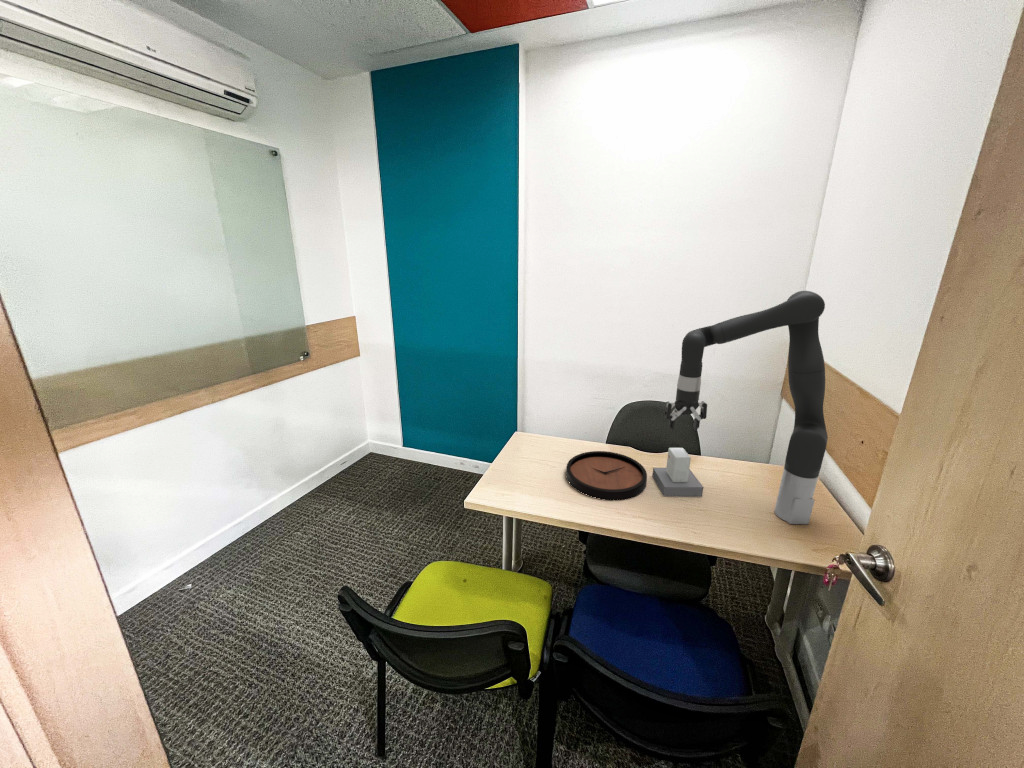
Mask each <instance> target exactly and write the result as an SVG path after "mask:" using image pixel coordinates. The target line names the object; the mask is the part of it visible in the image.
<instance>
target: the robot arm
mask: <svg viewBox="0 0 1024 768" xmlns="http://www.w3.org/2000/svg"><path fill="white" fill-rule="evenodd" d="M825 309H826V303H825V300H824V299H823V297H822V296H821V295H820V294H818V293H817V292H814V291H809V290H801V291H797V292H795V293H793V294H791V295H790V296H789V297H788V299H787V300H785V301H783V302H782V303H781V302H780V304H776V305H775V306H772V307H770V308H767V309H763V310H760V311H756V312H753V313H748V314H744V315H740V316H736V317H731V318H730V319H729V318H728V319H727V320H724V321H721V322H717V323H715V324H713V325H708V326H704V327H699V328H695V329H693V330H690V331H688V333H686V334H685V336H684V338H683V339H682V343H681V362H680V365H679V366H680V367H679V374H678V377H677V378H678V379H677V383H676V385H677V386H676V394H675V395H676V396H675V401H674V402H670V401H666V402H665V407H664V409H665V410H664V414H663V416H664V418H665V419H666V420H668V428H669V430H672V431H673V430H675V420H676V419H677V418H678V417H680V416H681V415H683V416H684V415H689V416H691V414H692V415H693V417H694V418H693V424H692V425H693V426H692V428H693V429H694V430H695V431H698V429H699V428H700V424H701V420H706V419H707V413H708V404H707V402H706V401H704V400H703V401H701V402H699V400H700V393H701V387H702V386H701V385H702V373H703V357H704V356H703V355H704V353H705V348H707V347H710V346H713V345H716V344H717V345H722V344H727V343H730V342H733V341H736V340H740V339H742V338H746V337H749V336H752V335H756V334H758V333H762V332H765V331H768V330H772V329H776V328H782V327H786V326H788V327H787V328H788V333H789V341H788V342H789V343H788V353H787V354H788V358H787V359H788V361H787V362H788V364H787V373H788V374H787V375H788V378H787V379H788V386H789V390H790V395H791V397H792V401H793V406H794V424H793V425H794V426H793V430H792V433H791V435H790V437H789V441H788V446H787V451H786V455H785V461H784V467H783V471H782V476H781V478H780V484H779V489H778V493H777V497H776V502H775V507H774V511H773V512H774V514H775V515H776V516H777V517H778V518H779V519H781V520H783V521H785V522H787V523H788V524H790V525H809V523H810V519H811V516H812V512H813V507H814V504H815V499H814V495H815V490H816V487H817V483H818V480H819V479H818V478H819V475H820V472H821V469H822V465H823V461H824V457H825V454H826V451H827V445H828V439H829V438H828V432H827V427H826V423H825V422H826V421H825V416H824V402H825V393H826V365H825V359H824V354H823V353H824V352H823V348H822V346H821V342H820V335H819V327H820V325H819V324H820V323H819V322H820V317H821V316H822V315H823V313H824V311H825ZM674 407H675V408H674ZM673 408H674V409H673ZM698 408H700V412H699V413H698V411H697V409H698ZM672 409H673V410H672ZM671 411H672V412H671Z"/></svg>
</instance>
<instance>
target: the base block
mask: <svg viewBox="0 0 1024 768" xmlns="http://www.w3.org/2000/svg"><path fill="white" fill-rule="evenodd" d="M652 478H653V480H654V482H655V484H656V485H657V487H658V489H659V490H660V492H661V494H662V496H663V497H675V498H677V497H681V498H682V497H683V498H684V497H691V498H692V497H693V498H694V497H695V498H696V497H697V498H698V497H699V498H702V497H703V493H704V486H703V484H702V483H701V482H700V481H699V479H698V478H697V477H696V475H695V473H693V471H692V470H691V469H690V468H689V476H688V482H673V481H672V480H671V478H670V477H669V475H668V474H667V472H666V467H652Z"/></svg>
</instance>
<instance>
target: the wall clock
mask: <svg viewBox="0 0 1024 768" xmlns="http://www.w3.org/2000/svg"><path fill="white" fill-rule="evenodd" d="M565 471H566V473H565V477H566V476H567V478H566V480H567V479H568V481H569V482H570V484H571V485H572V486H573V487H574V488H576V489H577V490H579V491H580V492H582V493H584V494H587V495H589V496H588V497H590V496H592V497H591V498H593V497H596V498H595V499H597V498H600V499H599V500H602V499H605V500H604V501H613V500H615V501H624V500H625V499H626V500H631V499H632V498H633V499H634V498H635V497H638V496H639V495H641V494H642V493H643V492H644V491H645V490H646V487H647V480H648V479H647V478H648V474H647V470H646V469H645V467H644V466H643V465H642V464H641V463H640V462H638V460H636V459H634V458H632V457H630V456H628V455H624V454H621V453H617V452H613V451H603V450H602V451H601V450H596V451H595V450H593V451H592V450H591V451H585V452H581V453H579V454H577V455H574V456H573V457H571V458H570V459H569V460H568V461H567V463H566V470H565ZM568 481H567V482H568ZM569 482H568V483H569ZM570 484H569V485H570ZM571 485H570V486H571ZM572 486H571V487H572ZM573 487H572V488H573ZM574 488H573V489H574ZM577 490H576V491H577ZM579 491H578V492H579ZM580 492H579V493H580ZM582 493H581V494H582ZM584 494H583V495H584ZM587 495H586V496H587Z"/></svg>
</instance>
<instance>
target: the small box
mask: <svg viewBox="0 0 1024 768" xmlns="http://www.w3.org/2000/svg"><path fill="white" fill-rule="evenodd" d="M691 459H692V457H691V456H690V455H689V453H688V452H687V451H686V449H684V448H683V447H669V448H668V450H667V459H666V460H667V461H666V466H665V468H666V472H667V474H668V475H669V477H670V478H671V480H672V481H673V482H688V476H689V469H690V466H691Z"/></svg>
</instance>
